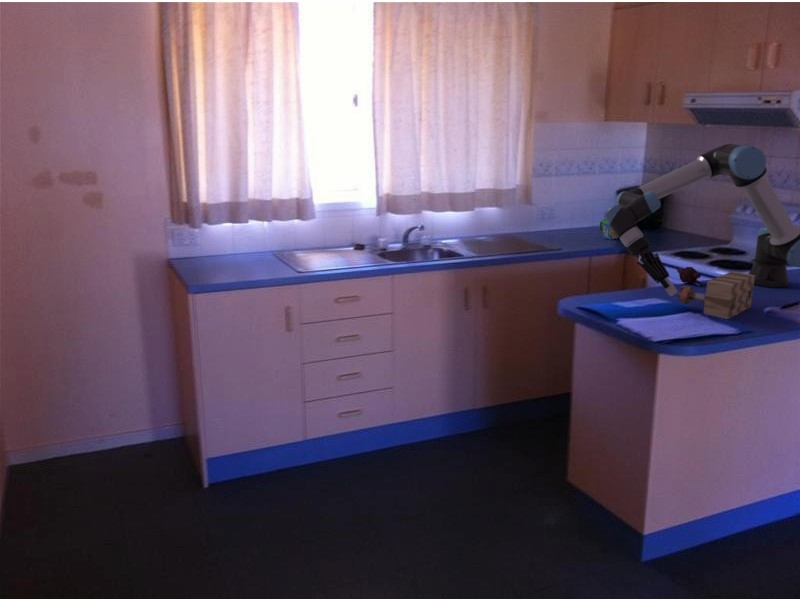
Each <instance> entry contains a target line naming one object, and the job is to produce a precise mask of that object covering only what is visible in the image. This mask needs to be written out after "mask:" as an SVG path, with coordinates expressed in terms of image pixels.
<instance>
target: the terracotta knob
mask: <svg viewBox="0 0 800 600" xmlns="http://www.w3.org/2000/svg"><path fill="white" fill-rule="evenodd" d="M705 296H706V293H700V292H694V289H693V287H692V286H686V285H682V286H681V287H680V290H679V292H678V302H679V303H681V304H687V305H689V304H690V303H691V302H692V301H695V302H701V303H704V304H705Z"/></svg>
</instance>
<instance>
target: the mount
mask: <svg viewBox="0 0 800 600" xmlns="http://www.w3.org/2000/svg"><path fill="white" fill-rule="evenodd" d="M754 279H755V275H751V274H749V273H743V272H736V271H729V272H727V273H725V274H722V275H720V276H717V277H715V278H712V279H710V280H707V281H706V282H707V283H706V289H705V290H706V291H705V294H706V296H705V303H704V305H703V311H702V312H703V313H706V314H709V315H713V316H717V317H721V318H726V319H728V318H730V317H732V316H734V315H736V316H737V314H738V313H740V314H742V313H743V312H742V311H744V310H746V309H747V310H749V309H751V308H752V307H751V305H752V300H753V291H754V286H755V285H754ZM747 292H749V297H748V300H746V296H747ZM750 307H751V308H750ZM748 308H749V309H748ZM747 310H746V311H747ZM741 312H742V313H741ZM744 312H745V311H744ZM703 313H702V314H703ZM738 315H739V314H738ZM734 317H735V316H734ZM732 318H733V317H732ZM730 319H731V318H730Z"/></svg>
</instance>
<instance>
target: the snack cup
mask: <svg viewBox="0 0 800 600" xmlns="http://www.w3.org/2000/svg"><path fill="white" fill-rule="evenodd" d="M598 230H599V231H600V232H601V231H602V234H603V235H602V236H603V239H604V240H609V241H611V240H612V241H615V240H614V239H616V240H618V239H619V237H618V236H617V234H616V233H615V232H614V231H613V229H612V228H611V227H610V226H609V224H608V222H607V221H606V219H605V218H604V219H602V220H601V221H600V223H599V225H598Z"/></svg>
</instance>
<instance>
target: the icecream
mask: <svg viewBox="0 0 800 600" xmlns="http://www.w3.org/2000/svg"><path fill="white" fill-rule="evenodd" d="M676 271H677V272H678V274H679V275H678V276H679V279H680V281H681V282H682V283H686V284H688V285H689V284H694V283H697V284H701V285H702V282H701V281H700V280H698V279H700V278H701V276H702V274H701V273H699V272H698V271H697V270H696V269H695V268H694V267H692V266H687V267H685V268H677V269H676Z"/></svg>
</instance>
